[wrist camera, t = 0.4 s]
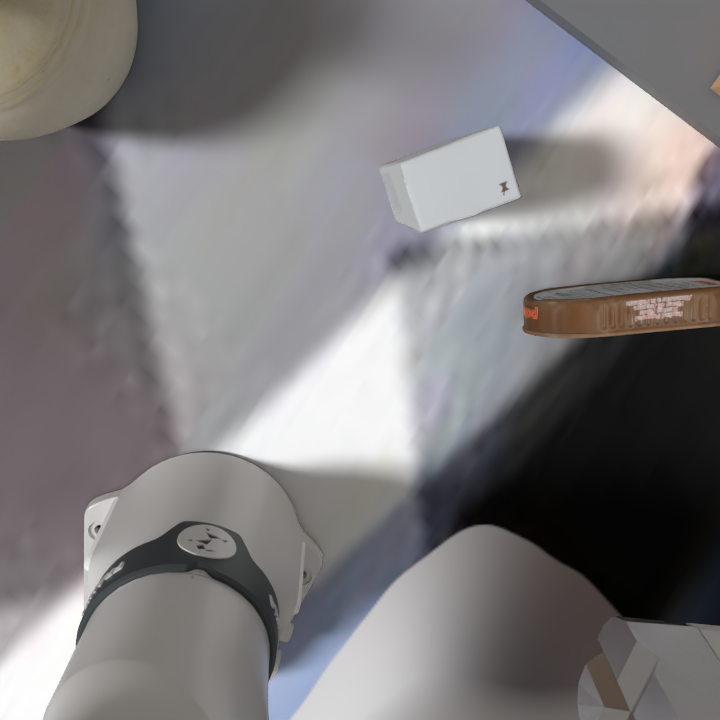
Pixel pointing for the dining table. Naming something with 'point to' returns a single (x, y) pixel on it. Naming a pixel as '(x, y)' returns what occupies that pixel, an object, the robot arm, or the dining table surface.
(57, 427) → the dining table surface
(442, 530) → the dining table surface
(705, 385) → the dining table surface
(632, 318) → the tin
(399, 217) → the skincare box
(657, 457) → the dining table surface
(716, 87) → the paddle
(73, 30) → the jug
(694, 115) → the gauge board
